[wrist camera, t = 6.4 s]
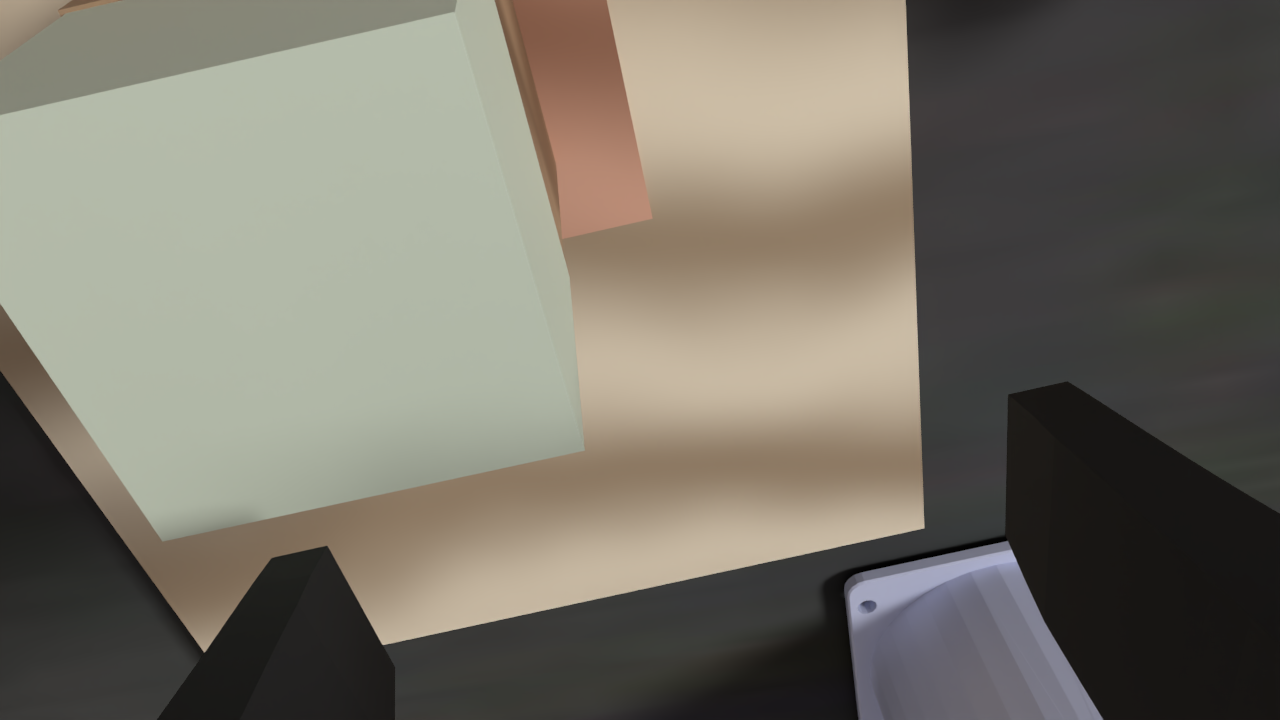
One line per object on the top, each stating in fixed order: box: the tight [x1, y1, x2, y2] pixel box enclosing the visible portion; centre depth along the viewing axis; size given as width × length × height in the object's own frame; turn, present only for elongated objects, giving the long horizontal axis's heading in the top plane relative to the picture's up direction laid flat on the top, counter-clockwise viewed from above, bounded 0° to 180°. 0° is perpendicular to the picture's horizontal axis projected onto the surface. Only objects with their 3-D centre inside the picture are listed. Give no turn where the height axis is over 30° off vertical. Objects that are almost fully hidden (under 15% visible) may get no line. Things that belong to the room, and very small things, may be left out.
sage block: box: [0, 0, 585, 542], centre depth 11 cm, size 5×5×4 cm
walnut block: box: [58, 0, 563, 251], centre depth 15 cm, size 5×5×4 cm
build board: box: [0, 0, 924, 653], centre depth 19 cm, size 20×18×1 cm
